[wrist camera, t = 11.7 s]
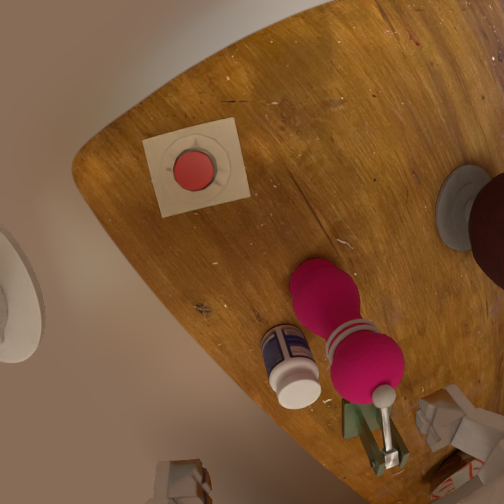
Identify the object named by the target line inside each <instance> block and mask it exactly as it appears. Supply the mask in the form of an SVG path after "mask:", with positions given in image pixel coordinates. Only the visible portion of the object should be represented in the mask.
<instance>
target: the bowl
mask: <svg viewBox="0 0 504 504" xmlns="http://www.w3.org/2000/svg"><path fill="white" fill-rule="evenodd" d="M484 463H485V462H483V461H481V460H479V459H477V458H475V457H473V456H471V455H469V454H467V453H465V452H463V451H461V450H460V451H458V452H457V453H455V454H454V455H452V456H451V457H449V458H448V459H447V460H446V461H445V462H444V463H443V464H442V465H441V466H440V468H439V469H438V471H437V472H436V474H435V476H434V477H433V479H432V482H431V485H430V489H429V499H430V500H433V499H437V498H440V497H443V496H445V495H447V494H449V493H451V492H453V491H455V490H456V489H458V488H459V487H461V486H463V485H464V484H465V483H467V482H468V481H470V480H471V479H472V478H474V477H475V476H476V475H477V474H478V472H479V470H480V468H481V467H482V466H483V464H484Z"/></svg>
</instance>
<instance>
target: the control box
mask: <svg viewBox="0 0 504 504" xmlns="http://www.w3.org/2000/svg"><path fill="white" fill-rule="evenodd" d="M142 142H143V146H144V150H145V155H146V159H147V163H148V167H149V171H150V175H151V178H152V182H153V186H154V190H155V194H156V197H157V201H158V205H159V208H160V212H161V215H162V218H164V217H168V216H172V215H176V214H180V213H184V212H188V211H192V210H196V209H200V208H204V207H209V206H213V205H217V204H221V203H226V202H230V201H235V200H239V199H243V198H248V197H251V194H250V189H249V185H248V180H247V175H246V171H245V166H244V161H243V156H242V152H241V147H240V142H239V138H238V133H237V129H236V124H235V119H234V117H230V118H226V119H221V120H217V121H212V122H208V123H204V124H199V125H195V126H191V127H187V128H183V129H180V130H176V131H172V132H168V133H165V134H161V135H158V136H154V137H151V138H148V139H144V140H142ZM190 151H201V152H204V153H205V154H207V155H208V156H209V157H210V158H211V160H212V162H213V165H214V173H213V177H212V180H211V181H210V183H209V184H208V185H207V186H206V187H204V188H202V189H200V190H188V189H185V188H183V187H182V186H181V185H180V184H179V183H178V182H177V180H176V178H175V174H174V168H175V164H176V162H177V161H178V159H179V158H180V157H181V156H182V155H184V154H186V153H188V152H190Z"/></svg>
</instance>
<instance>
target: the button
mask: <svg viewBox="0 0 504 504" xmlns="http://www.w3.org/2000/svg"><path fill="white" fill-rule="evenodd" d="M213 173H214V165H213V162H212V160H211V158H210V157H209V156H208V155H207V154H205V153H204V152H201V151H190V152H188V153H186V154H184V155H182V156H181V157H180V158H179V159H178V161H177V162H176V164H175V168H174V174H175V178H176V180H177V182H178V183H179V184H180V185H181V186H182V187H183V188H185V189H188V190H200V189H202V188H204V187H206V186H207V185H208V184H209V183H210V181H211V180H212V177H213Z"/></svg>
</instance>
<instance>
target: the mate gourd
mask: <svg viewBox="0 0 504 504" xmlns="http://www.w3.org/2000/svg"><path fill="white" fill-rule="evenodd" d="M436 225H437V230H438V232H439V235H440V237H441V239H442V240H443V242H444V243H445V244H446V245H447V246H448V247H450V248H452V249H454V250H456V251H467V250H470V249H472V252H473V256H474V258H475V260H476V262H477V264H478V265H479V267H480V268H481V269H482V270H483V271H484V272H485V274H486V275H487V276H488V277H489V278H490V279H491V280H492V281H493V282H494V283H495V284H496V285H498V286H499V287H501V288H502V289H503V290H504V173H501V174H499V175H497V176H495V177H494V178H493V179H492V180H491V178H490V176H489V175H488V174H487V172H486V171H484V170H483V169H482V168H480V167H478V166H475V165H469V164H467V165H462V166H460V167H458V168H456V169H455V170H454V171H452V172H451V173H450V174H449V176H448V177H447V178H446V180H445V181H444V183H443V185H442V187H441V190H440V192H439V195H438V199H437V203H436Z"/></svg>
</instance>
